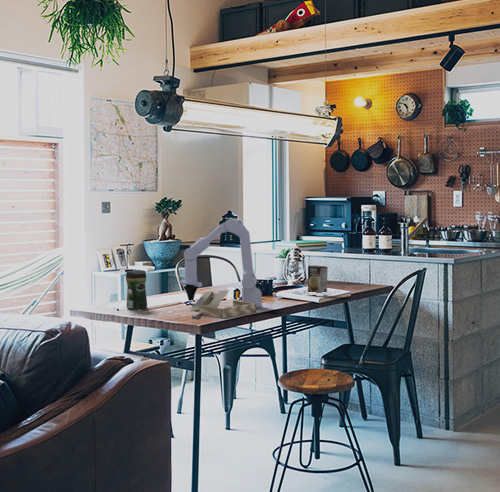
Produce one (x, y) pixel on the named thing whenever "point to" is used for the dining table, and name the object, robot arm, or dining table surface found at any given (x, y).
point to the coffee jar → (136, 289)
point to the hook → (197, 316)
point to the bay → (229, 309)
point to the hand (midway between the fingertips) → (191, 300)
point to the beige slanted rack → (210, 299)
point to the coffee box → (317, 279)
